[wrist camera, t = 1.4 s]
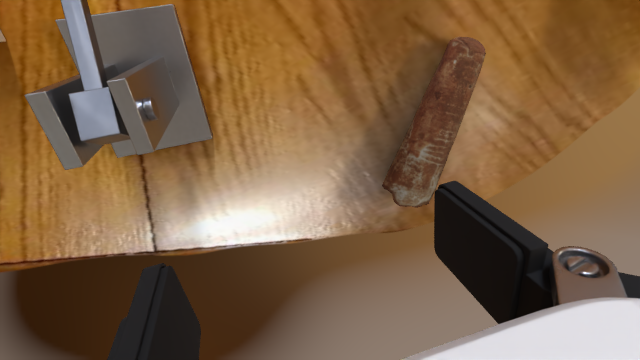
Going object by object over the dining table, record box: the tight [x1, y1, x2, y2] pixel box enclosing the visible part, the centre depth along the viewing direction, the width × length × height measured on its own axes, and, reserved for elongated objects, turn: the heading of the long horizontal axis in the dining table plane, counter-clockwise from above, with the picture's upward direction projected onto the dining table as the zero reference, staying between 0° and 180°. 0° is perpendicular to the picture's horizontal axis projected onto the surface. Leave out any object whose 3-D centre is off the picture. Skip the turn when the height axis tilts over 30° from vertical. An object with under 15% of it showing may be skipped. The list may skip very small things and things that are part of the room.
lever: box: [61, 0, 130, 145], centre depth 20 cm, size 16×3×3 cm, turn 7°
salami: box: [382, 37, 486, 207], centre depth 37 cm, size 6×19×6 cm, turn 159°
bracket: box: [25, 4, 213, 170], centre depth 25 cm, size 12×9×14 cm
